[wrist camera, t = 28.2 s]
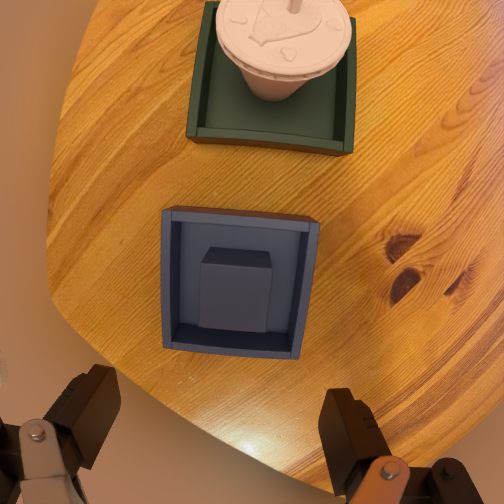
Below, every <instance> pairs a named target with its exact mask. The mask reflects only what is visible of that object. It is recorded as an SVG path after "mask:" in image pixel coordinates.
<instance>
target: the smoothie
mask: <svg viewBox="0 0 504 504" xmlns="http://www.w3.org/2000/svg"><path fill="white" fill-rule="evenodd" d="M216 31H217V37H218V42H219V43H220V45H221V47H222V49H223V50H224V52H225V54H226V55H227V56H228V57H229V58H230V59H231V60H232V61H233V62H234V63H235V64H236V65H237V66H239V68H240V70H241V72H242V74H243V76H244V78H245V80H246V82H247V84H248V86H249V88H250V90H251V91H252V93H253V94H254V95H255V96H257V97H258V98H260V99H262V100H265V101H269V102H277V101H281V100H284V99H286V98H288V97H289V96H290V95H291V94H292V93H294V92H295V91H296V90H297V89H298V88H299V87H301V86H302V85H303V84H304V83H305V82H306V81H308V80H309V79H312V78H315V77H318V76H321V75H323V74H324V73H326V72H327V71H329V70H330V69H332V68H333V67H335V66H336V65H337V63H338V62H339V61H340V59H341V58H342V57H343V56H344V53H345V51H346V49H347V48H348V46H349V43H350V40H351V34H352V27H351V22H350V18H349V15H348V13H347V11H346V9H345V8H344V6H343V4H342V3H341V2H340V1H339V0H221V2H220V4H219V6H218V9H217V13H216Z"/></svg>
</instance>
